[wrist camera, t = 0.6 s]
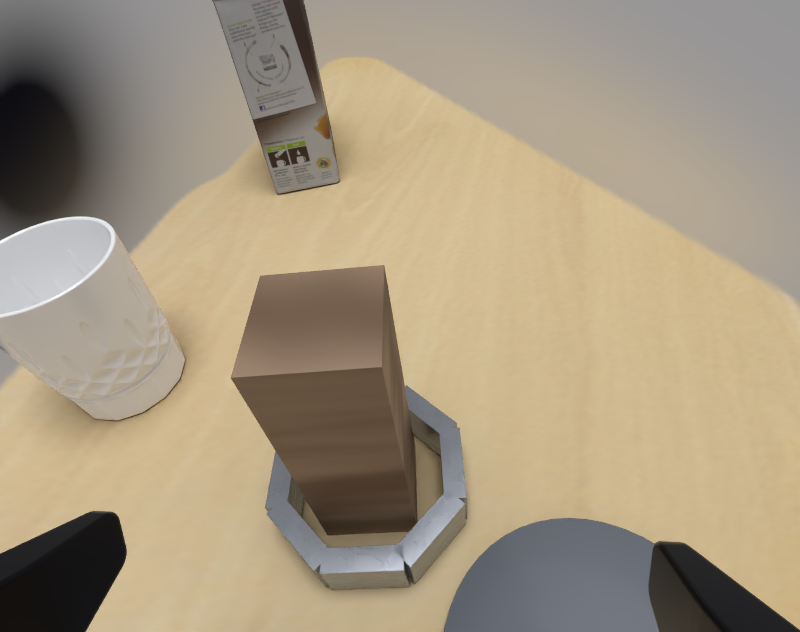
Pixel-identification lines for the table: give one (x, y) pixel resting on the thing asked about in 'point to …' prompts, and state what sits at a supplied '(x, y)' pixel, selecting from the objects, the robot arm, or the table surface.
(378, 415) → the walnut peg
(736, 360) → the table surface
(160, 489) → the table surface
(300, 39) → the coffee box
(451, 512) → the steel ring
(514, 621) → the slate coaster
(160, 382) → the white cup
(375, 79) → the table surface
